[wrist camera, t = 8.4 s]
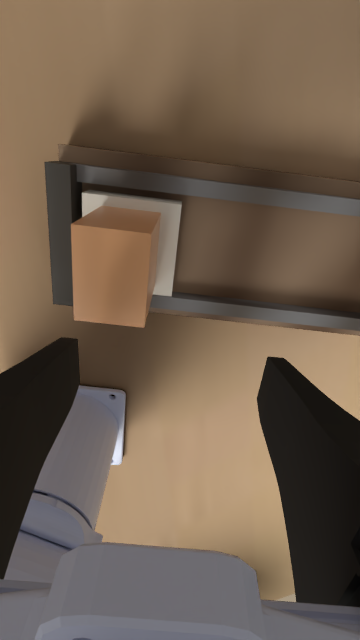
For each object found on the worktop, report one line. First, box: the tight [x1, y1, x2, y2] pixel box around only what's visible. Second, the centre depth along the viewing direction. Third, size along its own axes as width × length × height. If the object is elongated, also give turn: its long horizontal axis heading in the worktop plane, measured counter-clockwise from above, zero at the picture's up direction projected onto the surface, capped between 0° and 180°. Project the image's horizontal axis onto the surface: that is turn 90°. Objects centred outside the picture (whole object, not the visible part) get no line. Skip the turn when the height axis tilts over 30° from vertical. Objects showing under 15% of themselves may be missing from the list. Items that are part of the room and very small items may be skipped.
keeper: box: [71, 190, 182, 328], centre depth 16 cm, size 5×5×6 cm
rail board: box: [45, 144, 360, 336], centre depth 19 cm, size 20×9×4 cm, turn 83°
